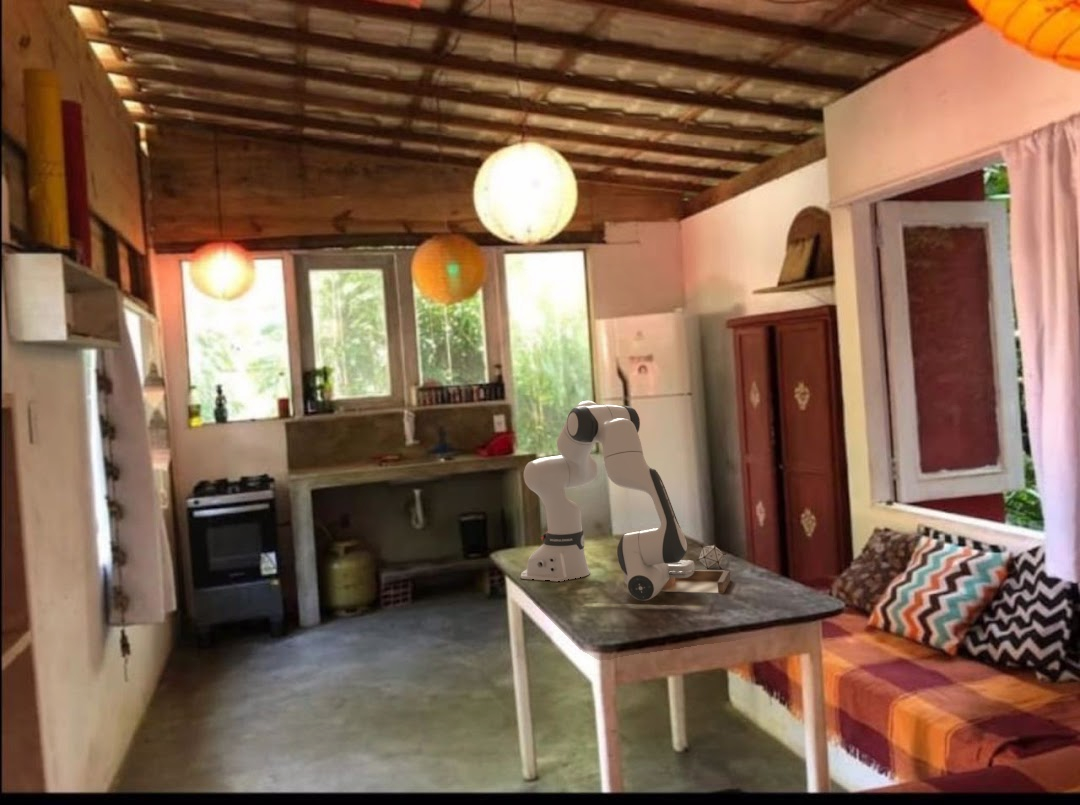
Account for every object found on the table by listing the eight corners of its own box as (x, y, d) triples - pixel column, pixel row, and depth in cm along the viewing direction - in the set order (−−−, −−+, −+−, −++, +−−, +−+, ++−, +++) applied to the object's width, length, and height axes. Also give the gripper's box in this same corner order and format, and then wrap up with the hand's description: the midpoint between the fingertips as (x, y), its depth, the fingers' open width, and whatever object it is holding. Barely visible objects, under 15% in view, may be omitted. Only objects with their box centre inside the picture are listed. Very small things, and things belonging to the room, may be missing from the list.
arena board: (647, 594, 245) (646, 580, 245) (657, 582, 258) (656, 569, 258) (723, 596, 238) (723, 582, 238) (730, 583, 251) (729, 570, 251)
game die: (717, 581, 268) (726, 560, 262) (691, 572, 270) (699, 551, 264) (722, 562, 275) (730, 541, 269) (696, 553, 277) (704, 532, 271)
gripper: (689, 562, 234) (698, 551, 247) (618, 561, 241) (629, 550, 254) (691, 585, 234) (699, 572, 247) (619, 583, 241) (631, 571, 254)
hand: (663, 561), depth 251 cm, fingers open, 8 cm apart
